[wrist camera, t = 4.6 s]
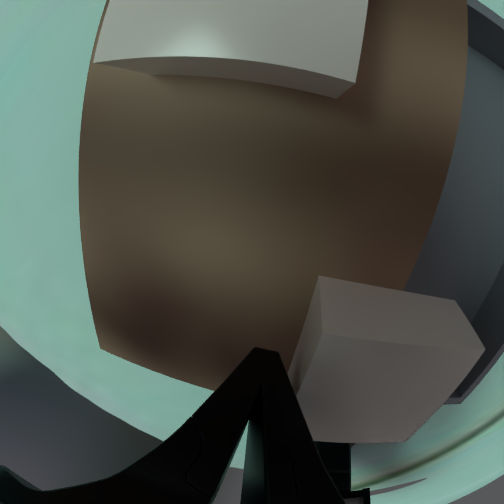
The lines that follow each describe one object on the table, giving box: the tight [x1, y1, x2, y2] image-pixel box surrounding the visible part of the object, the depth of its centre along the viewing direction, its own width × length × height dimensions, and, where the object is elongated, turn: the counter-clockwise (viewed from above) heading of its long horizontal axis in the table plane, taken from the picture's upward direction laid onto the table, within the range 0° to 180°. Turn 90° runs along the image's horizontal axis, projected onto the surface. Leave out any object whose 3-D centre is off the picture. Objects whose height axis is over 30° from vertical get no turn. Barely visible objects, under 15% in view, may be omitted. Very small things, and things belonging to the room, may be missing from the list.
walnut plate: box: [79, 0, 468, 391], centre depth 9 cm, size 18×11×5 cm, turn 170°
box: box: [403, 0, 504, 404], centre depth 9 cm, size 18×9×4 cm, turn 170°
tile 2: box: [287, 276, 485, 443], centre depth 8 cm, size 5×5×2 cm
